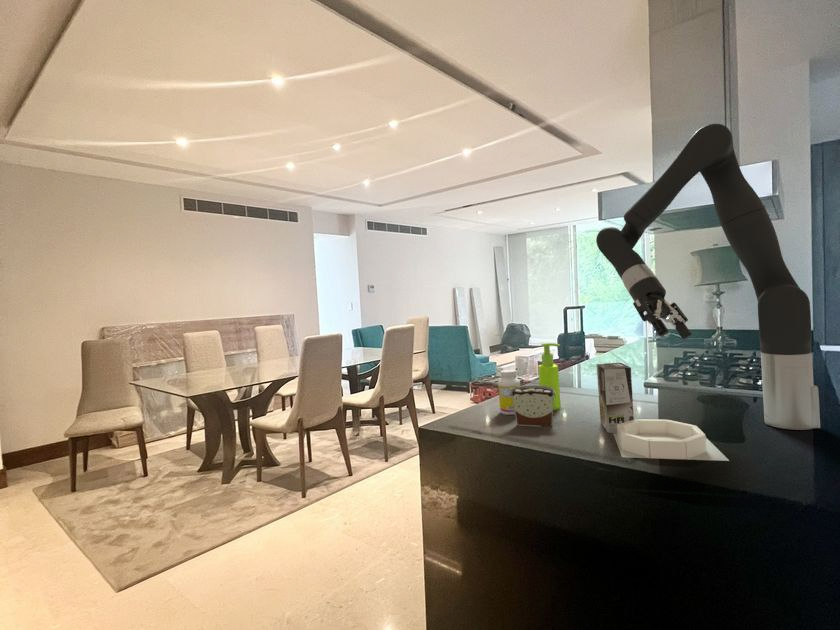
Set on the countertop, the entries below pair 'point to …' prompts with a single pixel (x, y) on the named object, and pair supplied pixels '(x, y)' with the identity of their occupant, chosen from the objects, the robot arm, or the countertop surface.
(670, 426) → the bowl
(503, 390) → the supplement bottle
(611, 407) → the coffee box
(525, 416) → the food container
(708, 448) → the mat
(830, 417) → the countertop surface
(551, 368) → the soap dispenser
